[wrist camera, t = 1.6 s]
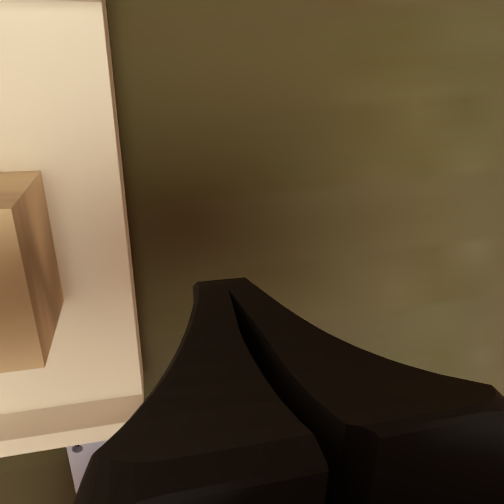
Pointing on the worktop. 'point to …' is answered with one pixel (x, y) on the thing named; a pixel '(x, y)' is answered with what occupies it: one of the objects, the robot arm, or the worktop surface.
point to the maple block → (26, 273)
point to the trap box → (71, 224)
